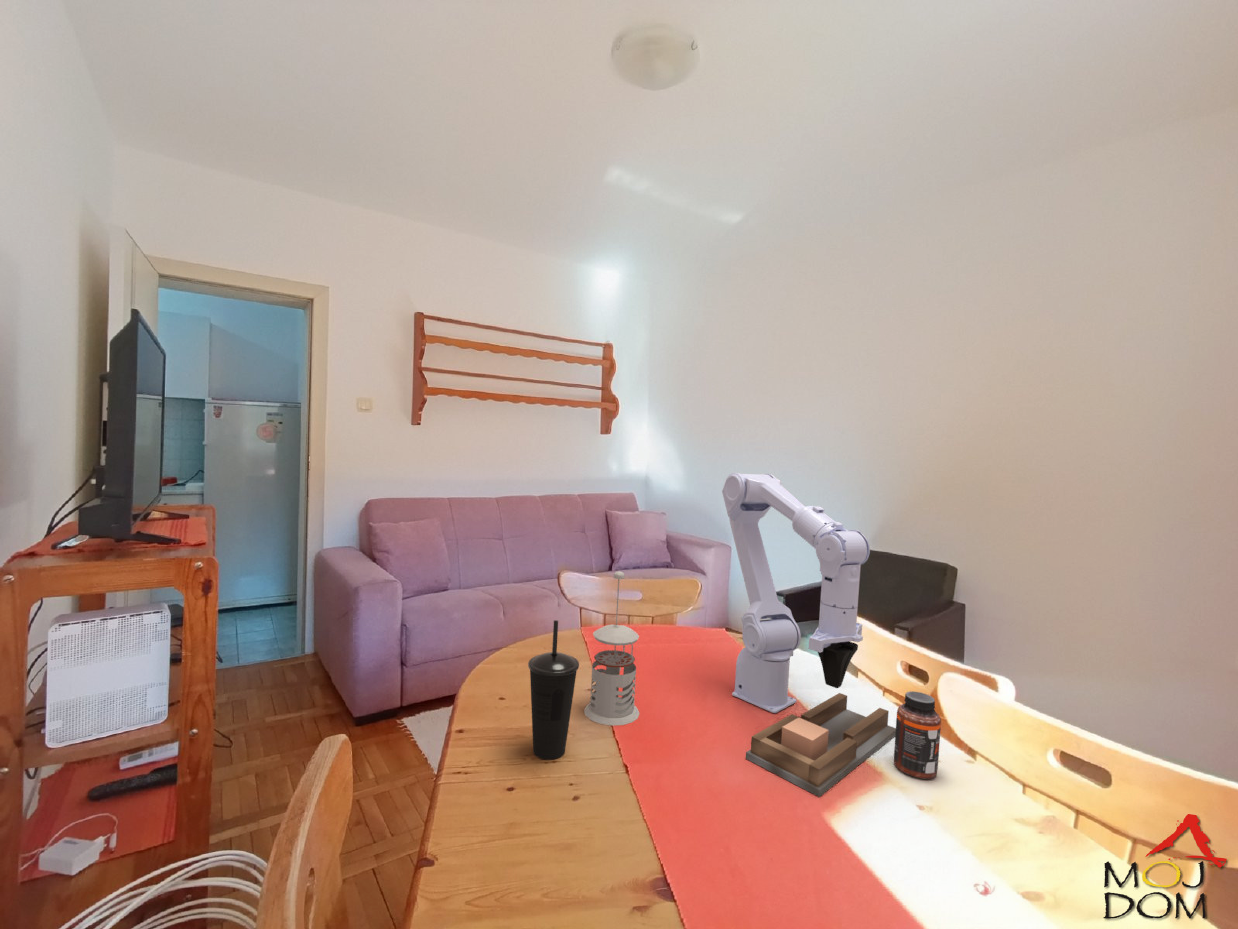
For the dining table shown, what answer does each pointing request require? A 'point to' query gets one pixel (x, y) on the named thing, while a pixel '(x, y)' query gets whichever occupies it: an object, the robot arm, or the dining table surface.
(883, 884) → the dining table surface
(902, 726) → the supplement bottle
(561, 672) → the drinking cup
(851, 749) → the walled tray
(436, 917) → the dining table surface
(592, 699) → the french press
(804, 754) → the block
